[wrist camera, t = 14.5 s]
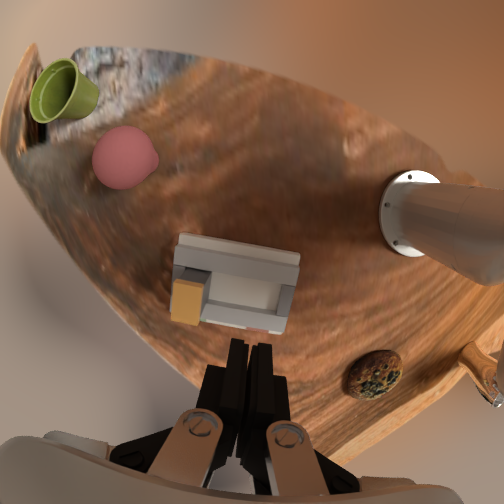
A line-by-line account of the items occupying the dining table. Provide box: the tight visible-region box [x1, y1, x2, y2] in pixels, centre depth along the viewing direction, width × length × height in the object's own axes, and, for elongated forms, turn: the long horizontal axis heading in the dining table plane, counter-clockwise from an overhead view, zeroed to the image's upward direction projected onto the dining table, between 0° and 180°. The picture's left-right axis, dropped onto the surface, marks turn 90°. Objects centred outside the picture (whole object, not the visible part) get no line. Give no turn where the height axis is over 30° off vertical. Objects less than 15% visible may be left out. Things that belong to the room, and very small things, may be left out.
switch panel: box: [170, 232, 300, 335], centre depth 38 cm, size 16×12×3 cm
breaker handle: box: [171, 267, 212, 326], centre depth 34 cm, size 3×5×7 cm
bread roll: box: [348, 350, 403, 400], centre depth 41 cm, size 11×11×5 cm
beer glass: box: [457, 342, 504, 408], centre depth 34 cm, size 7×7×15 cm
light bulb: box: [92, 126, 159, 190], centre depth 29 cm, size 7×7×12 cm
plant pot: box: [30, 58, 99, 123], centre depth 28 cm, size 9×9×9 cm
